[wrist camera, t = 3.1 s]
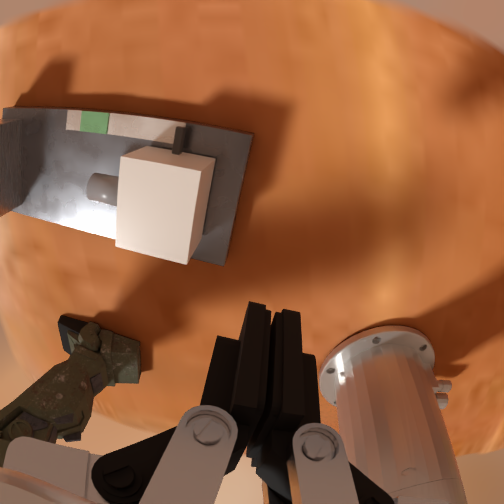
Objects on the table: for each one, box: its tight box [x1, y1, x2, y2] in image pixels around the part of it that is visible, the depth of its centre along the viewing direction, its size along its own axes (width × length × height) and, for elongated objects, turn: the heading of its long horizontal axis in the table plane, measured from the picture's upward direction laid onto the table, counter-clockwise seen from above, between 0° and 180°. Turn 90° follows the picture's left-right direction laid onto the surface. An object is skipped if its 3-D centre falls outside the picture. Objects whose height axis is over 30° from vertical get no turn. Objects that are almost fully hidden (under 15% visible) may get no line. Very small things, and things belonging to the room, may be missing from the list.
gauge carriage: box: [86, 126, 216, 265], centre depth 20 cm, size 8×8×4 cm
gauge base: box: [0, 106, 254, 266], centre depth 21 cm, size 23×10×6 cm, turn 78°
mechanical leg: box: [0, 315, 141, 467], centre depth 20 cm, size 14×7×30 cm, turn 78°
